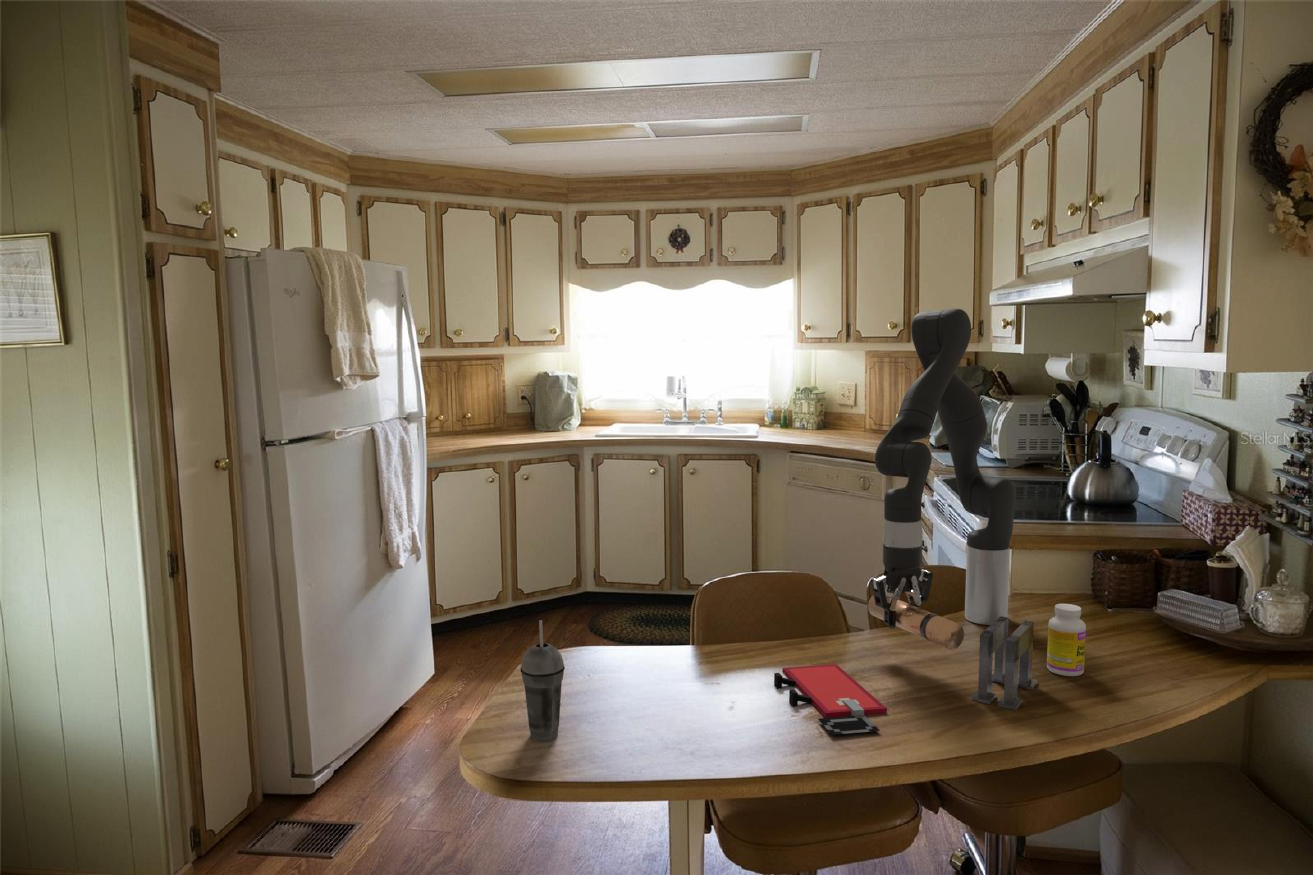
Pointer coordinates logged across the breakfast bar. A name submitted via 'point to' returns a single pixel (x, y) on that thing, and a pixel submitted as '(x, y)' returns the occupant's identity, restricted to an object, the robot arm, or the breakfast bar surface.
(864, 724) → the red board with handle
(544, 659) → the beverage cup
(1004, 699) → the metal stand
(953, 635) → the tube
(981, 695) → the metal stand
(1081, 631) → the supplement bottle
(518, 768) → the breakfast bar surface
